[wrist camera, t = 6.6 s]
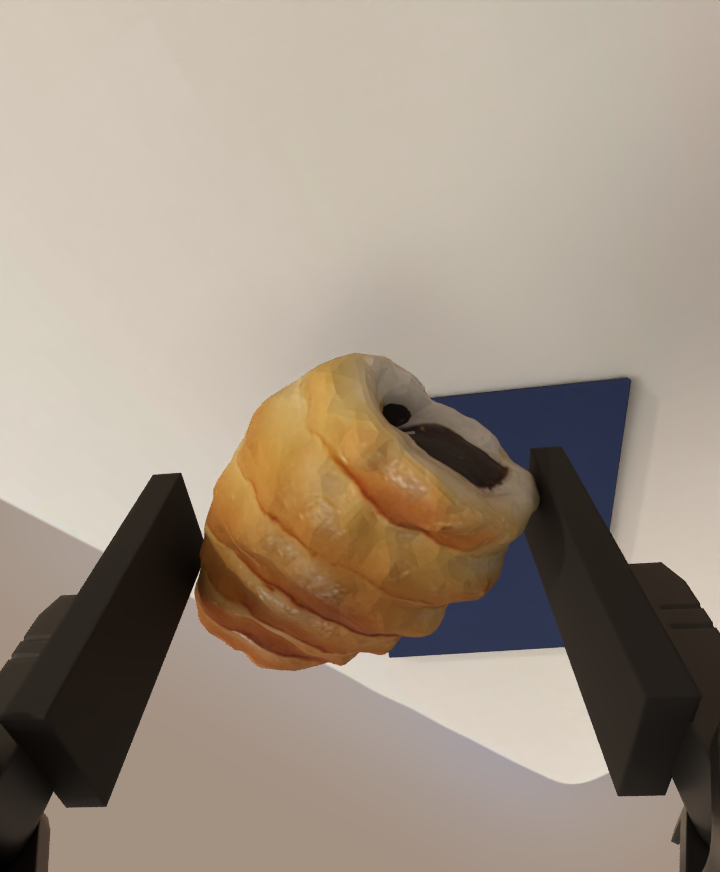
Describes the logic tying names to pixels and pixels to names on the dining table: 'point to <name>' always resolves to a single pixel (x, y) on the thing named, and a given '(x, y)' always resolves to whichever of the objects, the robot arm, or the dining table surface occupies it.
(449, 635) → the cloth mat
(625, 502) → the dining table surface
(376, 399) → the pastry
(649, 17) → the dining table surface
